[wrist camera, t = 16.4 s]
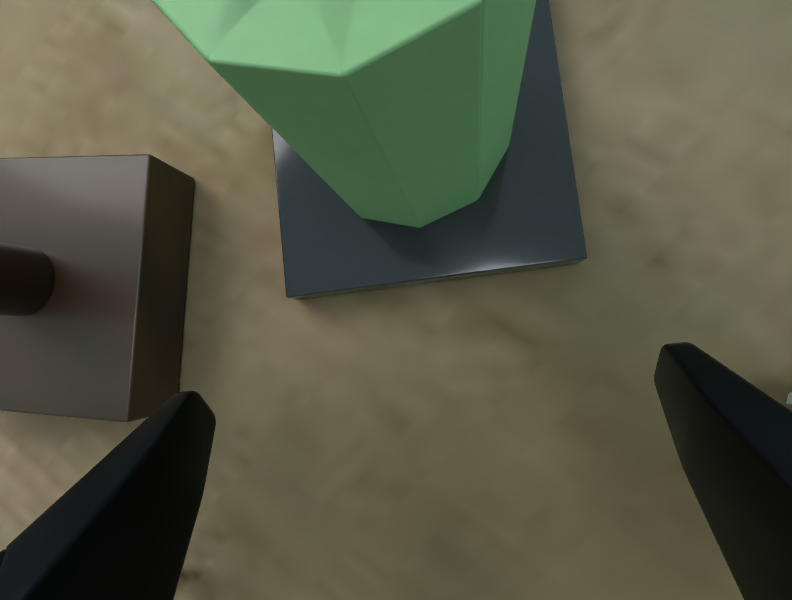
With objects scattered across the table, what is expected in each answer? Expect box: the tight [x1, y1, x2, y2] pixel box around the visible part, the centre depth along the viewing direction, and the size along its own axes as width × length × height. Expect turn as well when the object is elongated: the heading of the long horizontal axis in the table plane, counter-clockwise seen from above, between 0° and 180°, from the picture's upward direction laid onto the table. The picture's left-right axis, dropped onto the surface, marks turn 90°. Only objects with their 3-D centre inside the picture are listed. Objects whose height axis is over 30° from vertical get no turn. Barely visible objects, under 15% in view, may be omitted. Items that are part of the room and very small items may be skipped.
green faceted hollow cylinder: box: [151, 0, 536, 228], centre depth 11 cm, size 6×7×9 cm
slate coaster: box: [272, 0, 587, 299], centre depth 16 cm, size 10×10×1 cm
